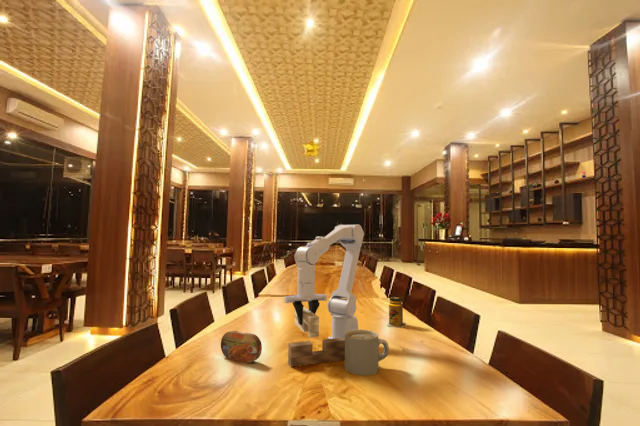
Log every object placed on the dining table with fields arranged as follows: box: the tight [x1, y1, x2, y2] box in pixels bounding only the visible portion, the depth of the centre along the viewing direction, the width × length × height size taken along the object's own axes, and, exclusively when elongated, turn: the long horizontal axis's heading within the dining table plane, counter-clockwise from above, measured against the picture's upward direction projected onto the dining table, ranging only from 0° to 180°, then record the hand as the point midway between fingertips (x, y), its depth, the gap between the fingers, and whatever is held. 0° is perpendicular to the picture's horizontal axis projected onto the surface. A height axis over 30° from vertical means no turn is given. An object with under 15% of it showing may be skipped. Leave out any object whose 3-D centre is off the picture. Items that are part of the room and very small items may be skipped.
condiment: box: [386, 296, 406, 328], centre depth 145 cm, size 7×8×12 cm
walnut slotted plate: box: [287, 338, 345, 368], centre depth 101 cm, size 18×3×6 cm, turn 112°
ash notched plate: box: [294, 306, 320, 338], centre depth 108 cm, size 3×16×6 cm, turn 21°
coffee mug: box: [344, 328, 390, 377], centre depth 97 cm, size 13×10×10 cm
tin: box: [220, 330, 263, 364], centre depth 102 cm, size 15×3×8 cm, turn 62°
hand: (305, 323), depth 108 cm, fingers closed on ash notched plate, 3 cm apart
